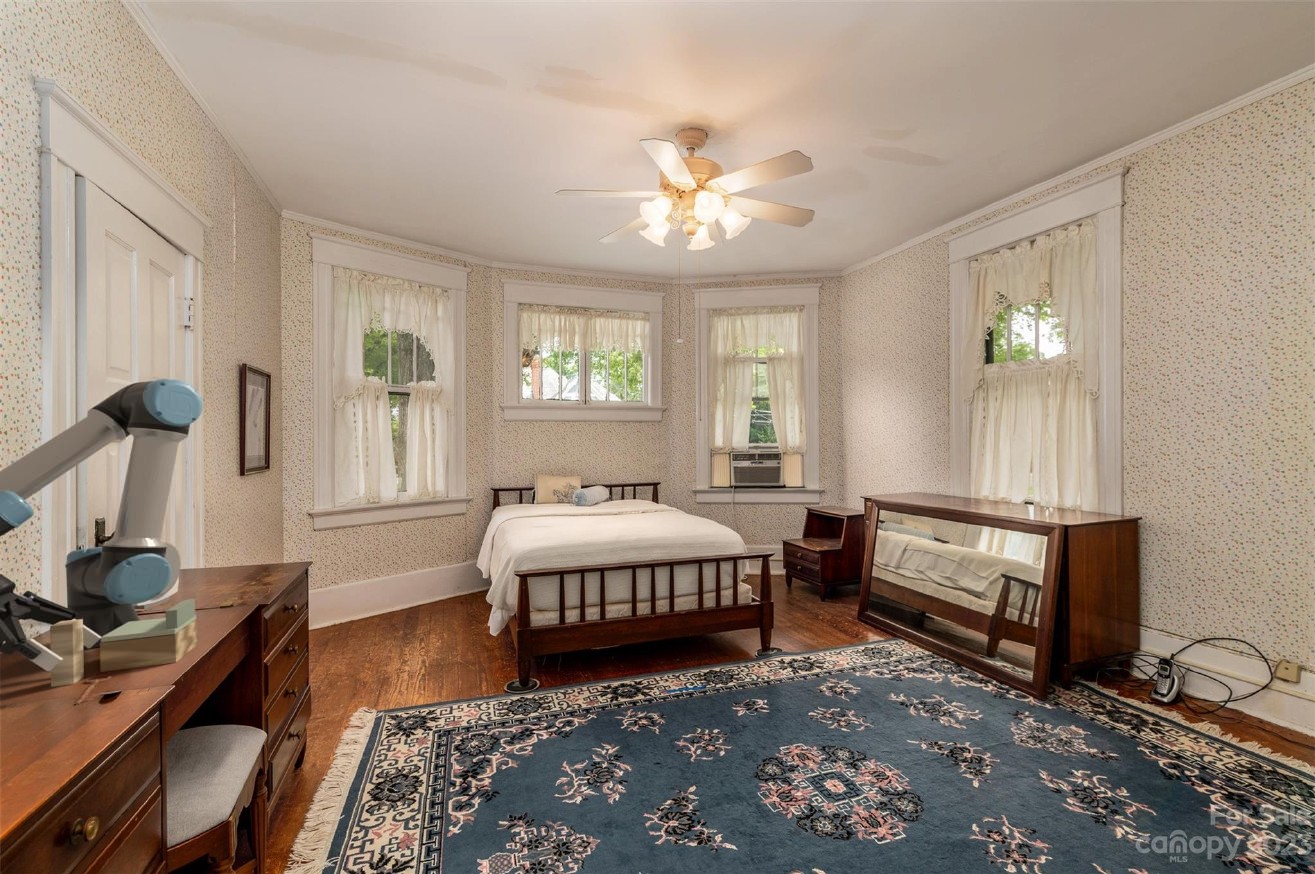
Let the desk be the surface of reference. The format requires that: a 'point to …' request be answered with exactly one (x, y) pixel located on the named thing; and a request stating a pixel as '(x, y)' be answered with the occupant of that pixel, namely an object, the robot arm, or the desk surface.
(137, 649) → the light wooden box
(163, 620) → the lid
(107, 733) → the desk surface
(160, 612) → the desk surface
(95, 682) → the key
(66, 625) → the block
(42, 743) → the desk surface
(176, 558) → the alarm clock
